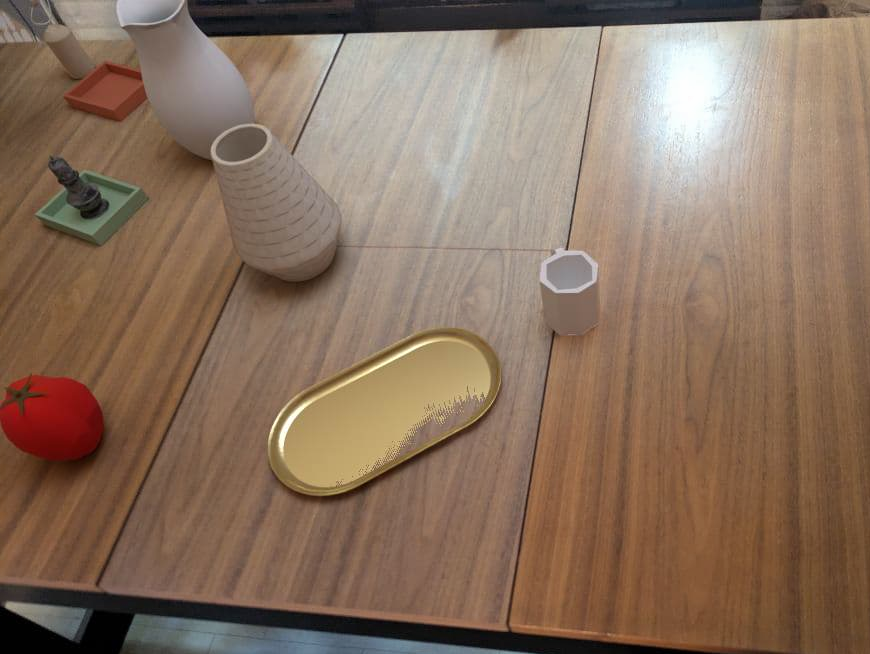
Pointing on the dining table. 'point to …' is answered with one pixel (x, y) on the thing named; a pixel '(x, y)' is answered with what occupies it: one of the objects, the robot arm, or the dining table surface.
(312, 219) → the vase
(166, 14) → the pitcher
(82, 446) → the tomato
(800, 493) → the dining table surface
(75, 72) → the candle
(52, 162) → the dark grey figurine
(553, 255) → the mug
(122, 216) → the green tray
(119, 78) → the terracotta tray
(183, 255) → the dining table surface
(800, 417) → the dining table surface
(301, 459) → the serving platter
